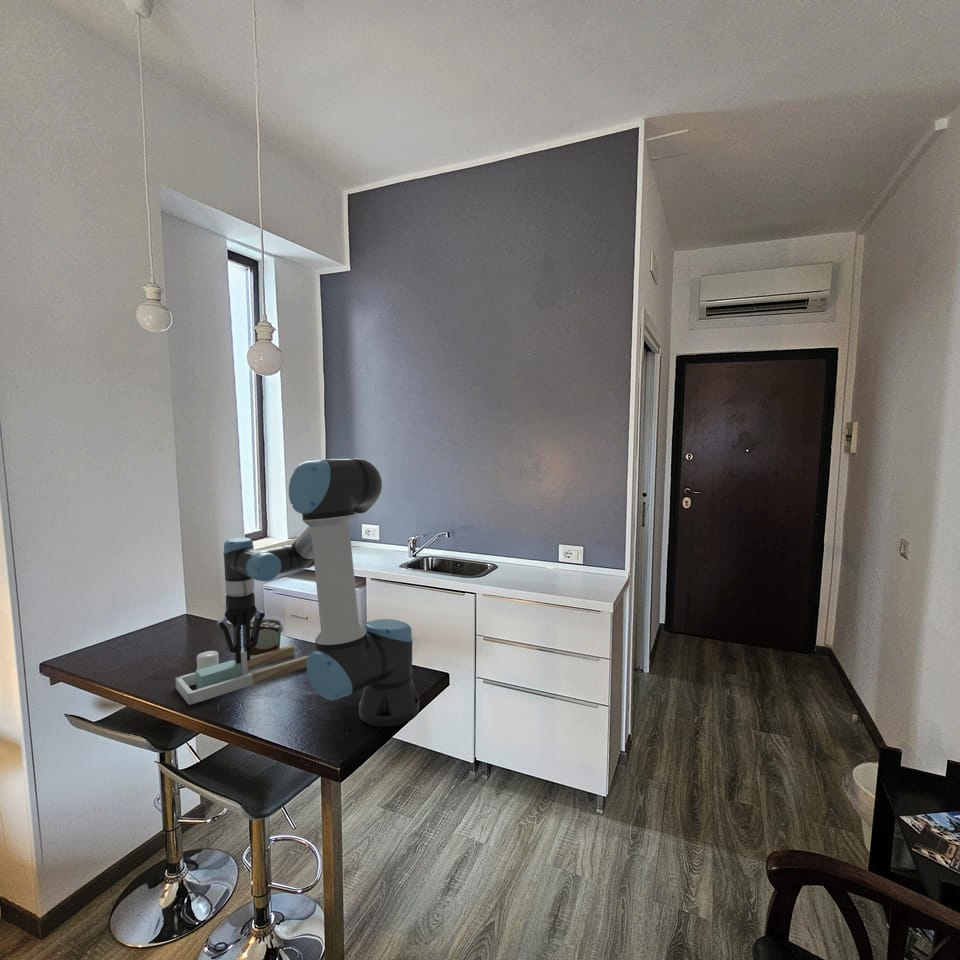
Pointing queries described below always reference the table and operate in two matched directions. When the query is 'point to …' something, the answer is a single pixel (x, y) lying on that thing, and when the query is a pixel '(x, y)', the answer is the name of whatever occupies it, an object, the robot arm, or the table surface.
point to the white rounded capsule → (207, 659)
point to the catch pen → (209, 687)
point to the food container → (267, 636)
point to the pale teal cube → (207, 676)
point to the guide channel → (276, 669)
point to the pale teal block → (229, 670)
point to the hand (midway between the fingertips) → (243, 672)
